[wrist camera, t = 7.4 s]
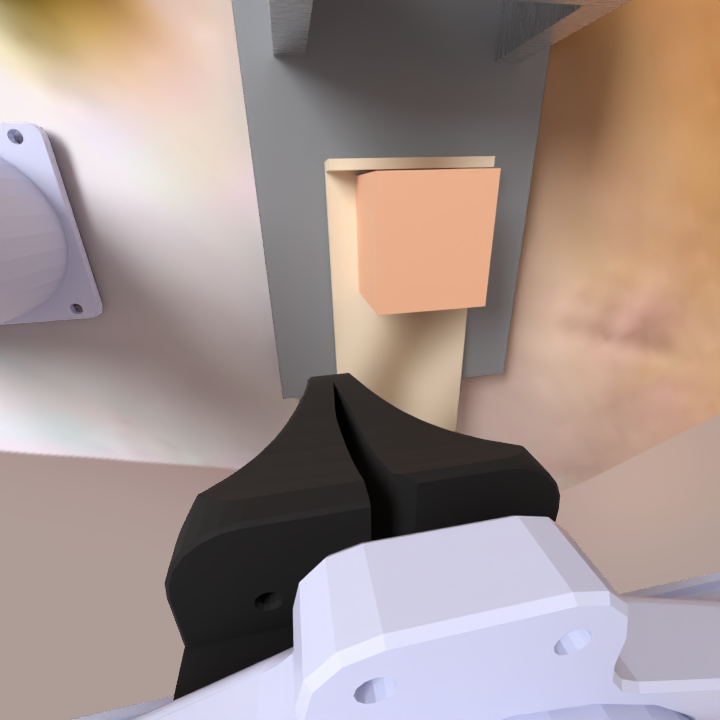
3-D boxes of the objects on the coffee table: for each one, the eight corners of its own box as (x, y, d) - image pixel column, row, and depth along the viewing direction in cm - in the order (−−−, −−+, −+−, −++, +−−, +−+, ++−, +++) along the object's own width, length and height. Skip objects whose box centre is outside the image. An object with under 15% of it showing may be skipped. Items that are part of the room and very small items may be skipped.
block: (358, 291, 18) (377, 315, 14) (355, 176, 16) (375, 170, 12) (446, 285, 19) (485, 306, 15) (454, 174, 17) (500, 168, 13)
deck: (283, 385, 22) (283, 398, 20) (183, -390, 11) (169, -478, 10) (489, 362, 24) (503, 373, 22) (575, -310, 13) (611, -373, 12)
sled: (341, 456, 22) (354, 513, 18) (324, 162, 16) (337, 150, 12) (451, 440, 23) (486, 491, 19) (476, 159, 17) (535, 148, 13)
